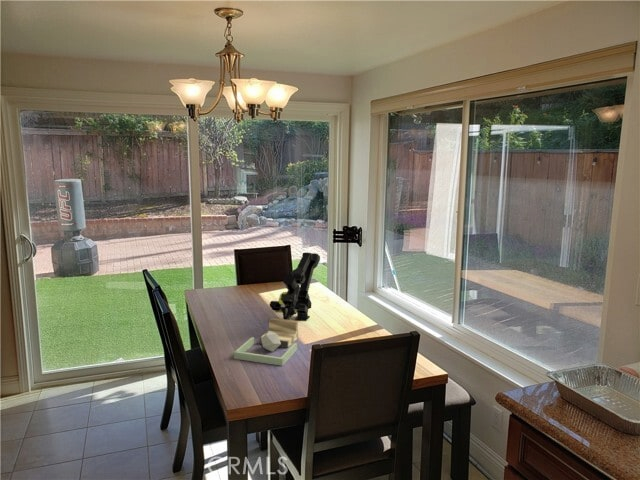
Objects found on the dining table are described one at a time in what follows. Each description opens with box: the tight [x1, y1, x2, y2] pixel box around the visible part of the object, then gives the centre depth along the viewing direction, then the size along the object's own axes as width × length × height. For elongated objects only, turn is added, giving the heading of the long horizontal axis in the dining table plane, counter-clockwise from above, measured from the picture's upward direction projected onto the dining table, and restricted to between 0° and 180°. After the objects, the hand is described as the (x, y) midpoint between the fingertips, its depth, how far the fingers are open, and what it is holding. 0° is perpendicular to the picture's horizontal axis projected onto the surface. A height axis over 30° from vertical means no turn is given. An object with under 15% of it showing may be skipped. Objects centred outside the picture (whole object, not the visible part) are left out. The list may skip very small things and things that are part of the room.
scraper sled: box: [259, 317, 299, 349], centre depth 223 cm, size 13×14×8 cm
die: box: [261, 330, 281, 352], centre depth 213 cm, size 8×9×10 cm
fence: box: [233, 336, 298, 367], centre depth 209 cm, size 18×22×3 cm
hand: (284, 323), depth 229 cm, fingers closed, pressing on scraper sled
